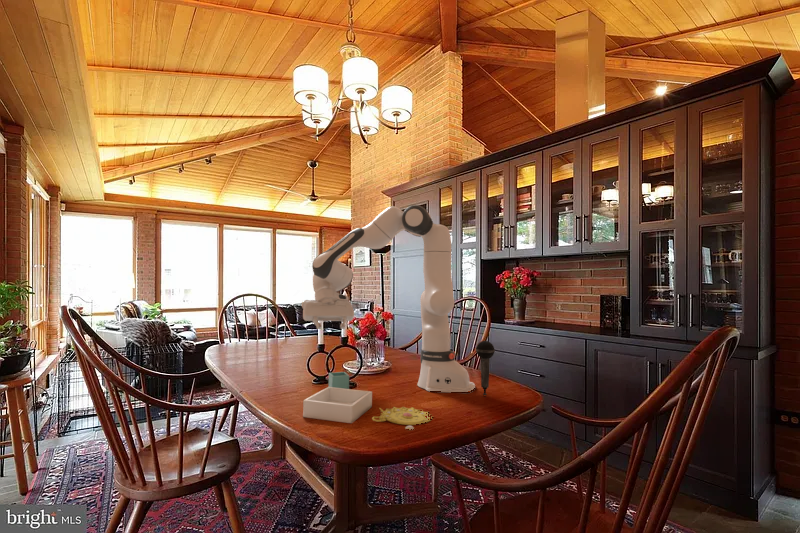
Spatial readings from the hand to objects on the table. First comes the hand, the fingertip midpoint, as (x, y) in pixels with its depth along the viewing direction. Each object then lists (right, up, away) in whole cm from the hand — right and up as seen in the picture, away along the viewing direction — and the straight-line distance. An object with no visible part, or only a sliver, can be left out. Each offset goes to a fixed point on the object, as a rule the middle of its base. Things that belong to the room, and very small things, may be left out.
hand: (331, 328), depth 156 cm
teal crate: (+5, -22, -12) cm, 25 cm away
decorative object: (+27, -23, -33) cm, 49 cm away
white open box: (+7, -22, -29) cm, 37 cm away
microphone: (+57, -23, -10) cm, 63 cm away
